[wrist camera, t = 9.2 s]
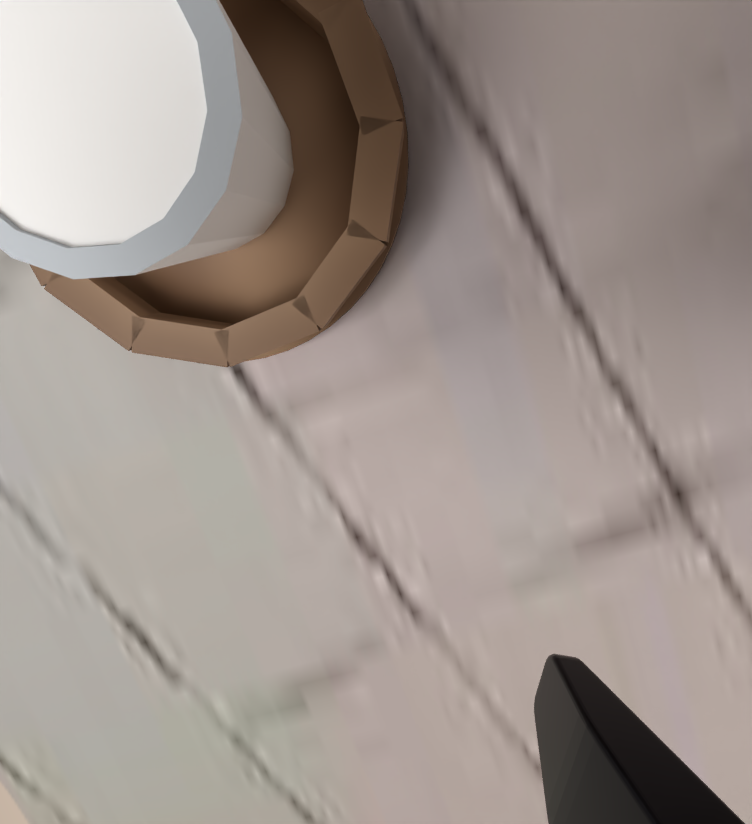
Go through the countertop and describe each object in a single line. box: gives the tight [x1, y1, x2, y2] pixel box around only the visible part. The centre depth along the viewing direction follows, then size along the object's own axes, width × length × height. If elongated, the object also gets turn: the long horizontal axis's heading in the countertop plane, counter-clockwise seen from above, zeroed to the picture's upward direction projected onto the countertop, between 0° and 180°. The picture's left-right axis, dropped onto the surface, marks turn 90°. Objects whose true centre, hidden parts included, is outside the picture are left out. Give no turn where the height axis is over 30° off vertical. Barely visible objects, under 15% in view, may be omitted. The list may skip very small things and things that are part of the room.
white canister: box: [0, 0, 294, 279], centre depth 13 cm, size 7×7×7 cm
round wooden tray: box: [30, 0, 408, 367], centre depth 16 cm, size 13×13×2 cm
